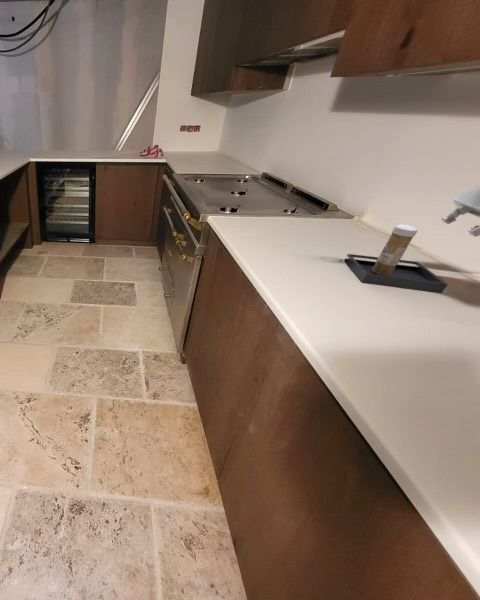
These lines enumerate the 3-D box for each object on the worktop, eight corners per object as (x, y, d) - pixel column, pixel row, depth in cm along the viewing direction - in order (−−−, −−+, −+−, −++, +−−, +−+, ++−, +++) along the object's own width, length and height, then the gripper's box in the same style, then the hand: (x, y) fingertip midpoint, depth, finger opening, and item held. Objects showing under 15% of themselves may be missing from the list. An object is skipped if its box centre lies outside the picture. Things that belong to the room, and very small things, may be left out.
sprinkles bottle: (366, 269, 92) (390, 223, 85) (382, 269, 92) (408, 224, 85) (379, 276, 88) (405, 229, 81) (395, 276, 88) (423, 229, 81)
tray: (413, 269, 93) (418, 261, 92) (441, 293, 82) (447, 284, 80) (344, 261, 98) (347, 253, 97) (362, 282, 86) (366, 274, 85)
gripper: (494, 169, 80) (425, 206, 87) (578, 187, 63) (483, 231, 70) (504, 189, 81) (435, 223, 88) (589, 212, 64) (494, 252, 71)
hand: (456, 227), depth 79 cm, fingers open, 8 cm apart
